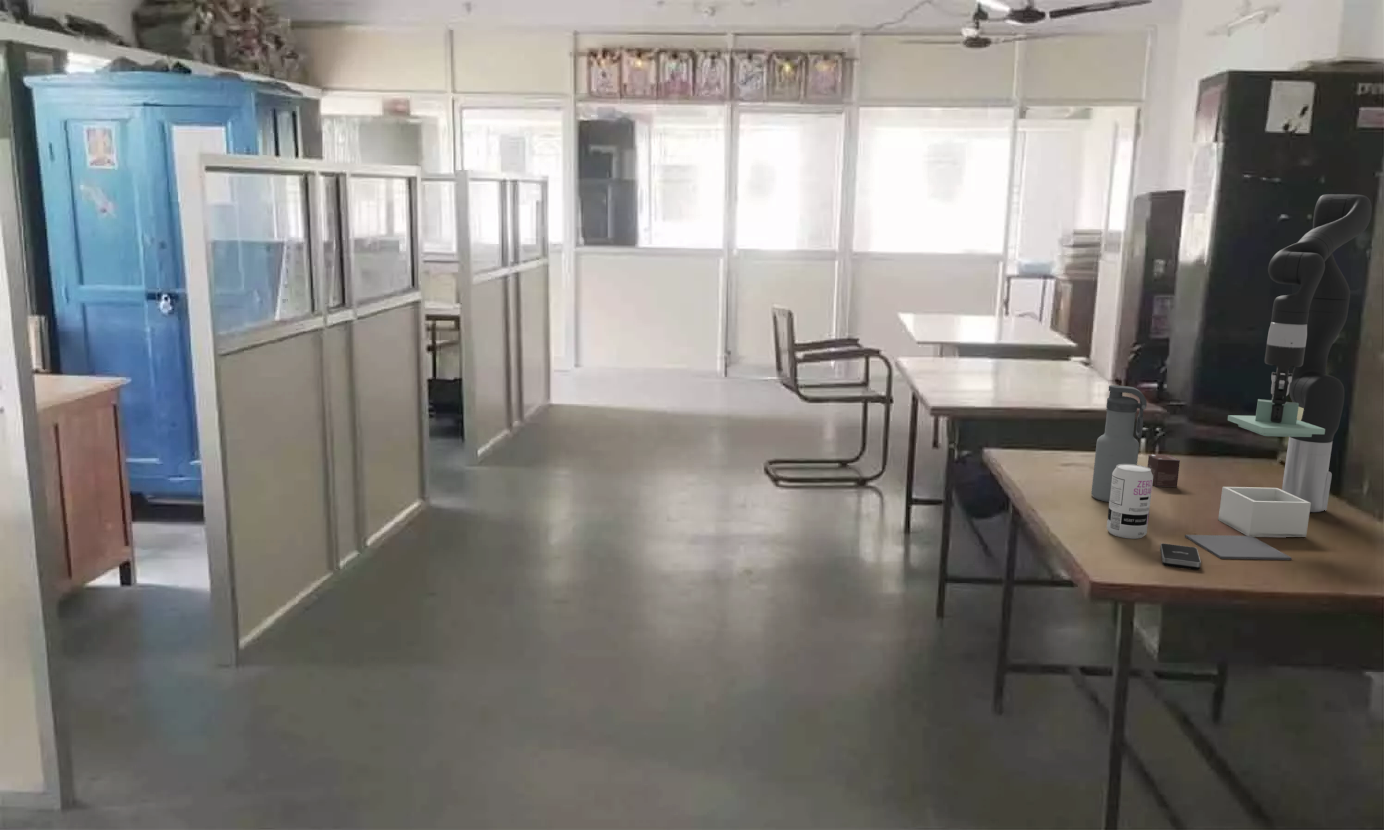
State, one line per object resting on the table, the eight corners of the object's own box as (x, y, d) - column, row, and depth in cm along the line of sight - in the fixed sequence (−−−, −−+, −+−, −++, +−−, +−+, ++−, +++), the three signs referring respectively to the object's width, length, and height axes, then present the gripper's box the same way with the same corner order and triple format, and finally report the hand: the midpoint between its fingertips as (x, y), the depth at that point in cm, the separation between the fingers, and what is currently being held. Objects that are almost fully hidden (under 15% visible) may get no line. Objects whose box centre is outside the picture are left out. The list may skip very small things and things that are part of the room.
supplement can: (1113, 526, 245) (1120, 461, 242) (1151, 534, 240) (1159, 467, 237) (1100, 533, 239) (1108, 467, 236) (1139, 541, 234) (1147, 474, 231)
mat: (1251, 538, 239) (1251, 535, 239) (1291, 559, 225) (1291, 557, 225) (1184, 536, 239) (1185, 534, 239) (1220, 558, 224) (1220, 556, 224)
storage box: (1272, 521, 254) (1277, 487, 252) (1305, 537, 241) (1310, 502, 240) (1218, 520, 253) (1222, 486, 252) (1248, 536, 240) (1253, 501, 239)
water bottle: (1132, 495, 273) (1144, 385, 268) (1136, 505, 264) (1149, 391, 258) (1089, 491, 275) (1100, 382, 270) (1092, 501, 266) (1104, 388, 261)
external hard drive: (1195, 556, 226) (1196, 547, 226) (1200, 572, 216) (1201, 563, 215) (1159, 552, 228) (1160, 543, 228) (1162, 567, 218) (1163, 558, 218)
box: (1177, 487, 283) (1180, 460, 282) (1154, 486, 283) (1157, 459, 282) (1168, 481, 289) (1171, 454, 288) (1145, 481, 289) (1148, 454, 288)
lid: (1286, 426, 250) (1290, 397, 249) (1323, 438, 236) (1328, 408, 235) (1227, 424, 249) (1230, 395, 248) (1261, 437, 236) (1265, 407, 234)
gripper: (1306, 348, 231) (1295, 428, 235) (1304, 342, 244) (1294, 417, 247) (1267, 345, 235) (1256, 423, 238) (1266, 339, 247) (1257, 414, 250)
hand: (1275, 420), depth 242 cm, fingers closed on lid, 3 cm apart
